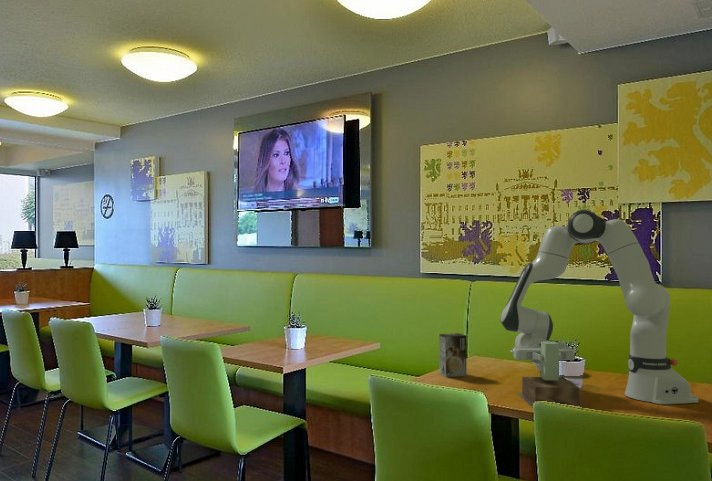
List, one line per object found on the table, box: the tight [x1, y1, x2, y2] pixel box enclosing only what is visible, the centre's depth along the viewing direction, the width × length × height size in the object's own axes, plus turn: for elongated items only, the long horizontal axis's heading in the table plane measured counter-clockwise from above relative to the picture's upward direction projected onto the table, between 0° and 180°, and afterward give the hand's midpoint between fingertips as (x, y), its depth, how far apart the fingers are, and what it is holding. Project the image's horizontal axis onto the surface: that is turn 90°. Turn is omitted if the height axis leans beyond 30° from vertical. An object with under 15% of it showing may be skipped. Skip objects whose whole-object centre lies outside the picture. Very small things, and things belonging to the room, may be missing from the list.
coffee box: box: [438, 332, 468, 378], centre depth 224 cm, size 9×6×16 cm
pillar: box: [540, 341, 559, 380], centre depth 188 cm, size 4×4×12 cm
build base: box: [518, 376, 583, 407], centre depth 188 cm, size 16×16×6 cm
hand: (550, 358), depth 188 cm, fingers closed on pillar, 4 cm apart
